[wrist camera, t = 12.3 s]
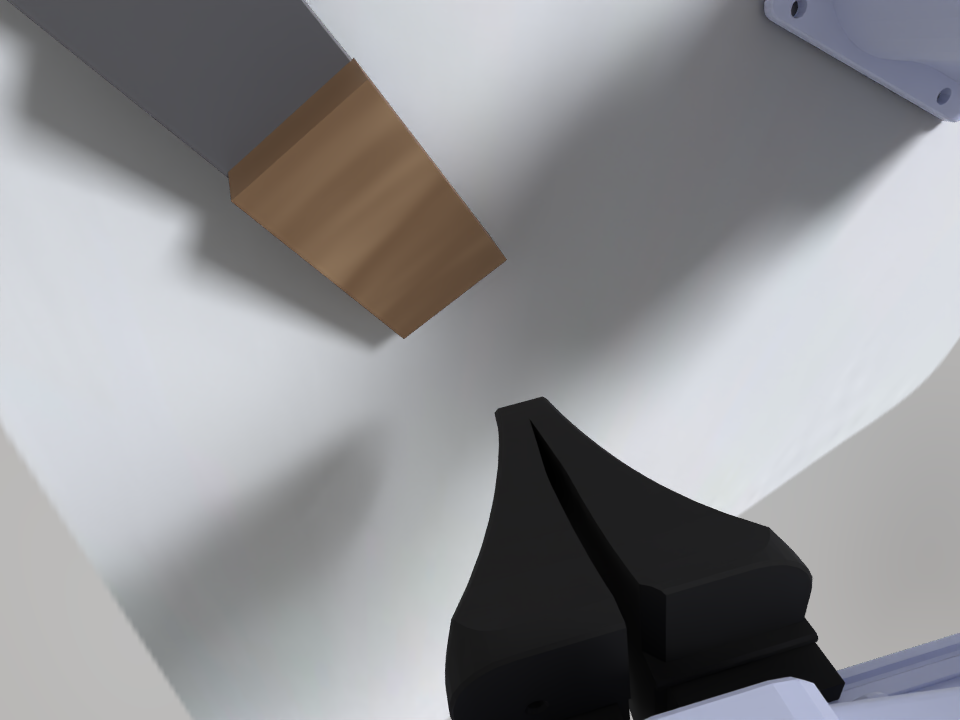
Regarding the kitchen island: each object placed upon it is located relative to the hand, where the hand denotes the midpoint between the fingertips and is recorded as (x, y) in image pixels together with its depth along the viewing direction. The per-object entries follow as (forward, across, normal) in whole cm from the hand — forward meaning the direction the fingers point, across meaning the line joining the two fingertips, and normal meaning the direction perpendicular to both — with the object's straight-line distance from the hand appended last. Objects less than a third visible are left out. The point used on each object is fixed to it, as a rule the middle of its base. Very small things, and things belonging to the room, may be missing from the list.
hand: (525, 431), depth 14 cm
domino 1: (+6, +3, -6) cm, 10 cm away
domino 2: (+6, +1, -2) cm, 7 cm away
